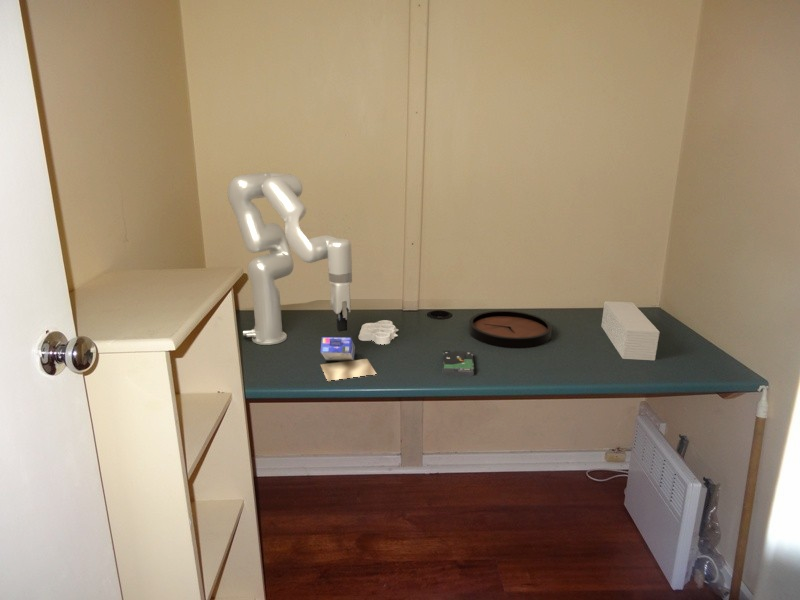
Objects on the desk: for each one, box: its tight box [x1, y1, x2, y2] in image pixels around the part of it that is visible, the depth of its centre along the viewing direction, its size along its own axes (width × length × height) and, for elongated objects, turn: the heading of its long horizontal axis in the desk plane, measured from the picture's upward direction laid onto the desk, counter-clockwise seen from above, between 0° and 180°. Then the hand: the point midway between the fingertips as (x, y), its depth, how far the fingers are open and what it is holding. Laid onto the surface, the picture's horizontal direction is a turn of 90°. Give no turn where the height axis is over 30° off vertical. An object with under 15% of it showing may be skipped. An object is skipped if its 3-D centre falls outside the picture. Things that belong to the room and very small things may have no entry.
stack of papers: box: [601, 300, 660, 361], centre depth 200 cm, size 32×11×11 cm, turn 173°
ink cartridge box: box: [320, 336, 356, 361], centre depth 178 cm, size 10×6×14 cm
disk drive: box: [441, 349, 475, 377], centre depth 181 cm, size 10×3×15 cm
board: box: [319, 358, 378, 382], centre depth 177 cm, size 16×12×1 cm
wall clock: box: [468, 310, 553, 349], centre depth 210 cm, size 31×4×31 cm
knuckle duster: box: [358, 319, 399, 346], centre depth 206 cm, size 3×18×15 cm
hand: (342, 330), depth 182 cm, fingers closed
